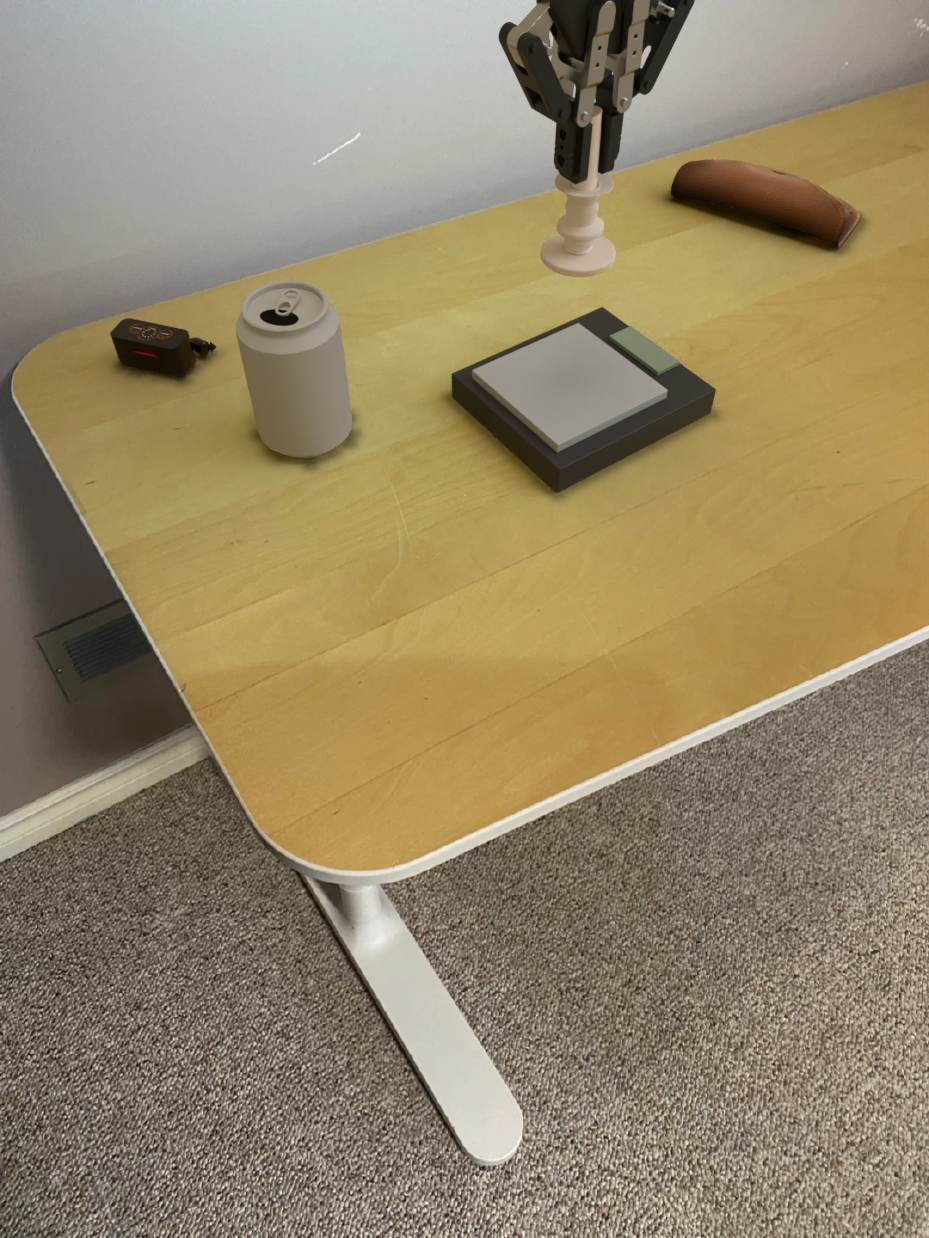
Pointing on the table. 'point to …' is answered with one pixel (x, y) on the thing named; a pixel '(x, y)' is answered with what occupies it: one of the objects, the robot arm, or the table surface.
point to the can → (295, 368)
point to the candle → (582, 220)
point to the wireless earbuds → (157, 347)
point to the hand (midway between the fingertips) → (585, 172)
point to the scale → (581, 396)
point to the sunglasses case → (767, 196)
